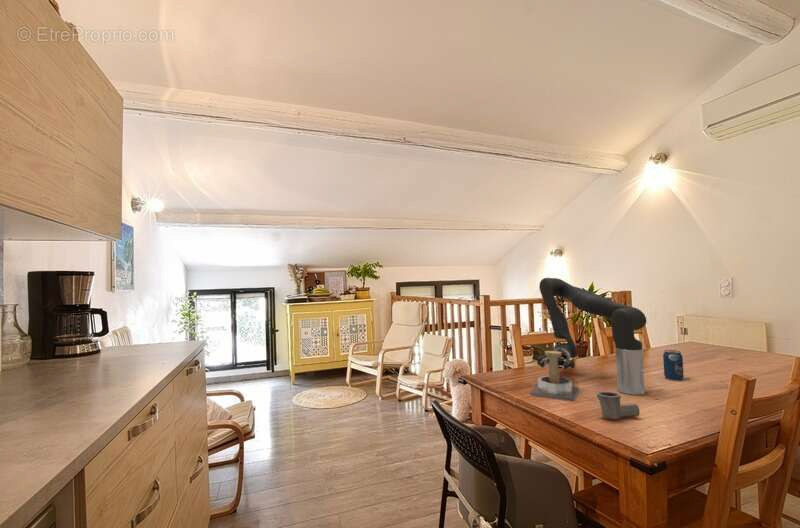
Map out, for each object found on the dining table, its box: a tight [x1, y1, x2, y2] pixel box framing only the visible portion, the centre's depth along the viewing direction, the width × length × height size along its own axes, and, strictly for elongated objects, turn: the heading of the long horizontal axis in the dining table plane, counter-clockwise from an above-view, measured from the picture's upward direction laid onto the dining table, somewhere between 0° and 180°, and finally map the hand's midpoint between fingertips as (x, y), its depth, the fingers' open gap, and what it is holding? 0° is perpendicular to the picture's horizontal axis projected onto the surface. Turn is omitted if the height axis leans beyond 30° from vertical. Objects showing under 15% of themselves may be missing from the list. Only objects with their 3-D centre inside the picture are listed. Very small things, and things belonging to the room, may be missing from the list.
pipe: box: [596, 391, 641, 421], centre depth 124 cm, size 6×13×8 cm, turn 89°
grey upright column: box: [544, 350, 562, 384], centre depth 152 cm, size 5×6×15 cm
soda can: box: [662, 349, 685, 381], centre depth 165 cm, size 7×7×12 cm
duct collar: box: [529, 375, 580, 402], centre depth 152 cm, size 16×16×5 cm
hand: (553, 366), depth 150 cm, fingers open, 8 cm apart
